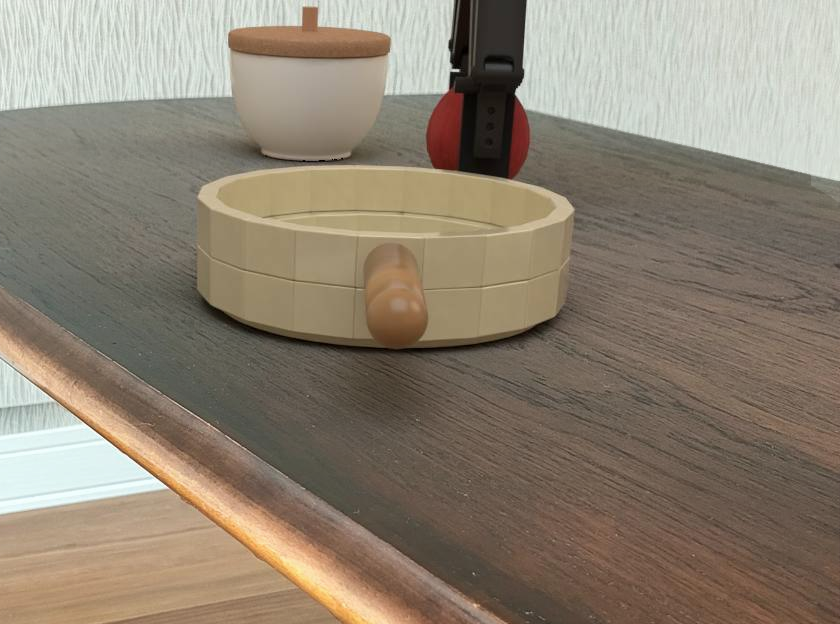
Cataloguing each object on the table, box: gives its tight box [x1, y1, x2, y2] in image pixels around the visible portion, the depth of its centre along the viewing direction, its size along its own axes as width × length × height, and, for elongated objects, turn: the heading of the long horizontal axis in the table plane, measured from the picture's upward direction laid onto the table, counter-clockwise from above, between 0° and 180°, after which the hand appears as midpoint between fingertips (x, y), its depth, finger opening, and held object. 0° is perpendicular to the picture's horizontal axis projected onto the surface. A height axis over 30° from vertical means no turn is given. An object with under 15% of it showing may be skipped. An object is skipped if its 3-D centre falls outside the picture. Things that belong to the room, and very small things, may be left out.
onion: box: [425, 87, 531, 180], centre depth 82 cm, size 6×6×8 cm
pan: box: [196, 164, 576, 349], centre depth 62 cm, size 16×16×4 cm
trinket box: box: [227, 5, 392, 162], centre depth 96 cm, size 11×11×9 cm
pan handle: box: [363, 243, 428, 350], centre depth 50 cm, size 2×9×2 cm, turn 178°
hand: (471, 199), depth 83 cm, fingers open, 9 cm apart
